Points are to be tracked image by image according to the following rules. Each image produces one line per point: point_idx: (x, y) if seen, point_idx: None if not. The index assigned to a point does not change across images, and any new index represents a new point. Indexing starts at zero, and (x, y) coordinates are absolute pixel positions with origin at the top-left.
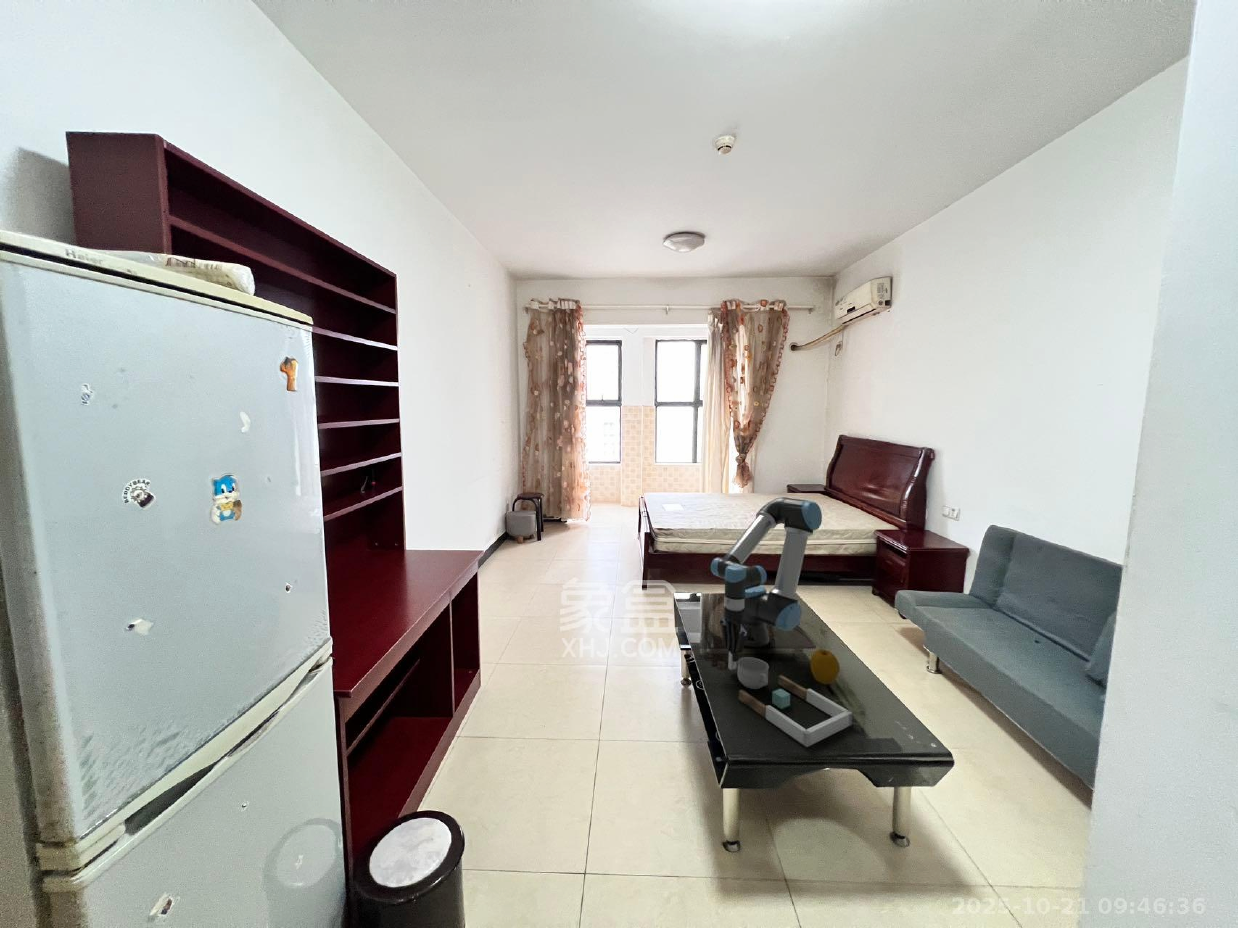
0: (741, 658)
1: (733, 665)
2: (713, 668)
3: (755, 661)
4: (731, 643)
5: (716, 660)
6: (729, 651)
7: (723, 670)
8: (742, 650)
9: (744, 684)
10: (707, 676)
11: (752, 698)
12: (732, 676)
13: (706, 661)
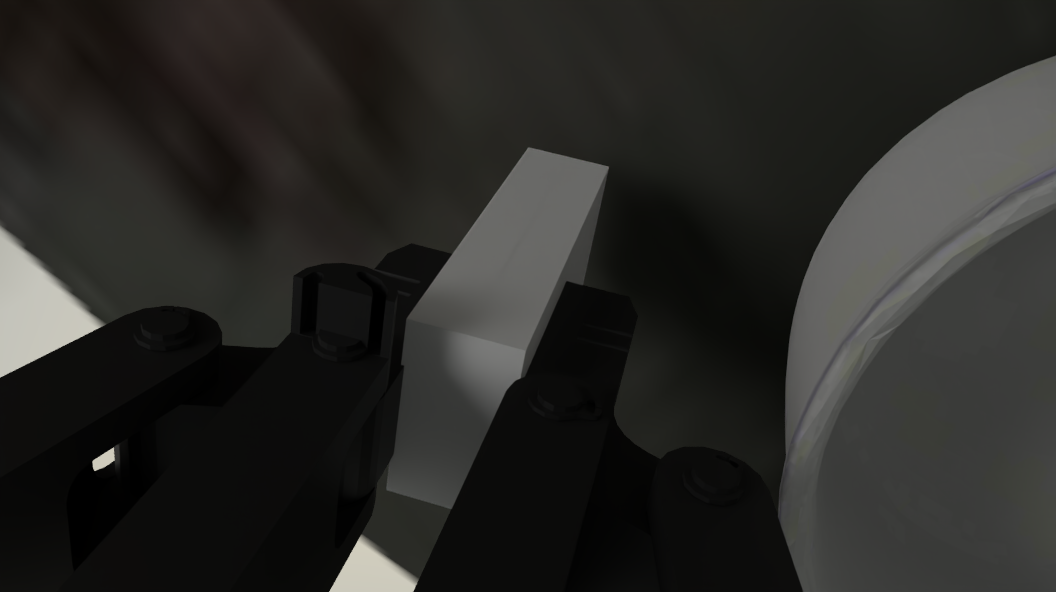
0: (807, 485)
1: (579, 280)
2: (292, 289)
3: None
4: (302, 584)
5: (113, 22)
6: (392, 472)
7: (427, 229)
8: (781, 547)
9: (1035, 538)
10: (405, 519)
11: None
12: (650, 289)
13: (71, 184)
